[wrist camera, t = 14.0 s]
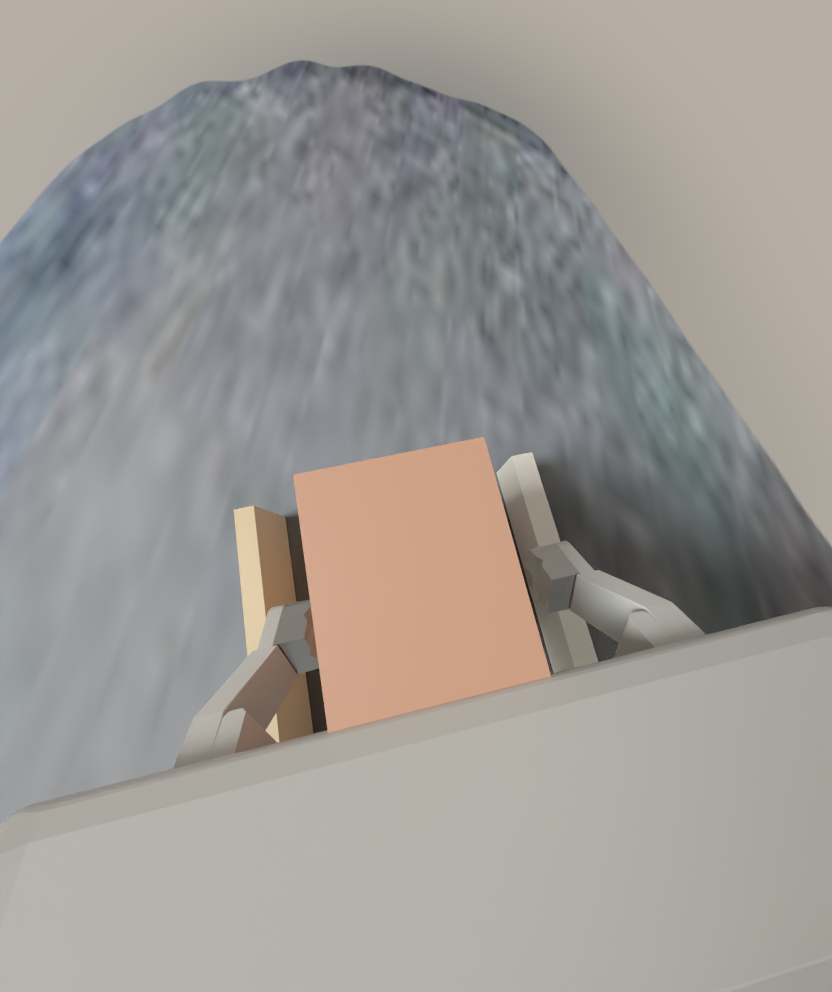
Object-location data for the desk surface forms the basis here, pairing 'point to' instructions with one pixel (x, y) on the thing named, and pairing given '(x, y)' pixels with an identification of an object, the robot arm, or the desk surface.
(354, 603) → the carton
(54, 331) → the desk surface
